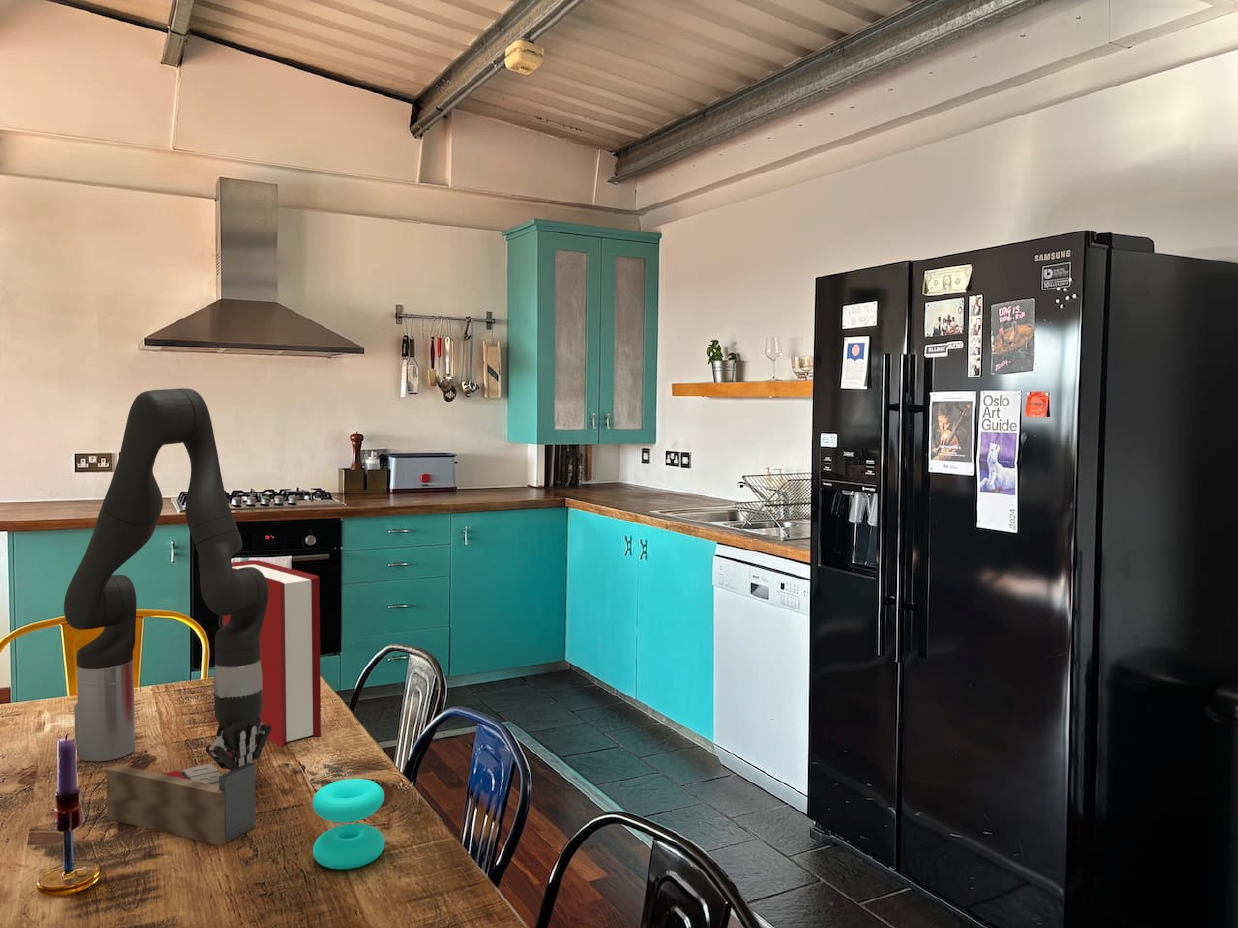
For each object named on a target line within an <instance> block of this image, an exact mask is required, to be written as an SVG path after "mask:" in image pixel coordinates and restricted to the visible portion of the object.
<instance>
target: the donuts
mask: <svg viewBox="0 0 1238 928" xmlns="http://www.w3.org/2000/svg"><path fill="white" fill-rule="evenodd" d="M384 801H385V793H384V789H383V788H382V787H381V785H379V783H376V781H375V782H374V781H372V780H369V779H363V778H348V779H342V780H337V781H334V782H330V783H328V784H326V785H324V786H322V787H320V789H319V790H317V792H316V793H315V794H314V796H313V798H312V807H313V810H314V812H315V814H317V816H318V817H320V818H322V819H323V820H325V821H328V822H332V823H333V822H334V823H344V824H340V825H336V826H334V827H332V828H330V829H328V830H326V831H325V832H323V833H322V834H321V835H319V836H318V838H317V839H316V841H315V842H314V845H313V848H312V853H313V858H314V859H315V860H316V862H317V863H318V864H319V865H321V866H322V867H325V868H327V869H331V870H350V869H351V870H352V869H356V868H360V867H361V868H362V867H363V866H366V865H368V864H370V863H372V862H374V861H375V860H376V859H378V858H379V856H380V855H382V853H383V851H384V848H385V837H384V835H383V833H382V832H381V831H380V830H379V829H377V828H376V827H374V826H373V825H369V824H365V823H360V822H359V823H351V822H356V821H361V820H364V819H366V818H369V817H370V816H372V815H373V814H375V813H376V812H377V811H378V810H380V808H381V807H382V806H383V803H384Z"/></svg>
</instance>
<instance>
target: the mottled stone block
mask: <svg viewBox="0 0 1238 928" xmlns="http://www.w3.org/2000/svg"><path fill="white" fill-rule="evenodd" d="M105 771H106V805H107V807H106V809H107V820H110V821H114V822H119V823H123V824H126V825H132V826H135V827H139V828H143V829H148V830H152V831H156V832H160V833H164V834H168V835H169V834H170V835H173V836H177V837H181V838H186V839H190V840H193V841H194V840H195V841H197V842H201V843H206V844H210V845H215V846H218V847H221V846H223V845H225V844H227V843H226V832H225V791H223V790H219V786H216V785H211V784H207V783H202V782H197V781H192V780H188V779H183V778H178V777H173V776H169V775H164V774H163V773H158V772H154V771H149V770H145V769H140V768H139V769H138V768H135V767H134V768H133V767H129V766H125V765H120V764H115V765H113V766H111V767H109V768H106V769H105Z"/></svg>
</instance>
